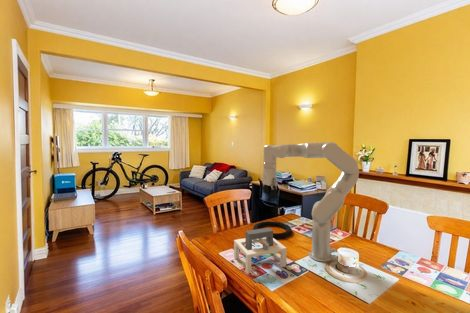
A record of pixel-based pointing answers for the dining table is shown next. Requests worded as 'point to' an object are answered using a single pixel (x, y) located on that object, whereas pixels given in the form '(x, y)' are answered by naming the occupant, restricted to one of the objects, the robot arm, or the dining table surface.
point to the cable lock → (277, 224)
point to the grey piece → (259, 236)
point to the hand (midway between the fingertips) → (269, 194)
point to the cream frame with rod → (259, 251)
